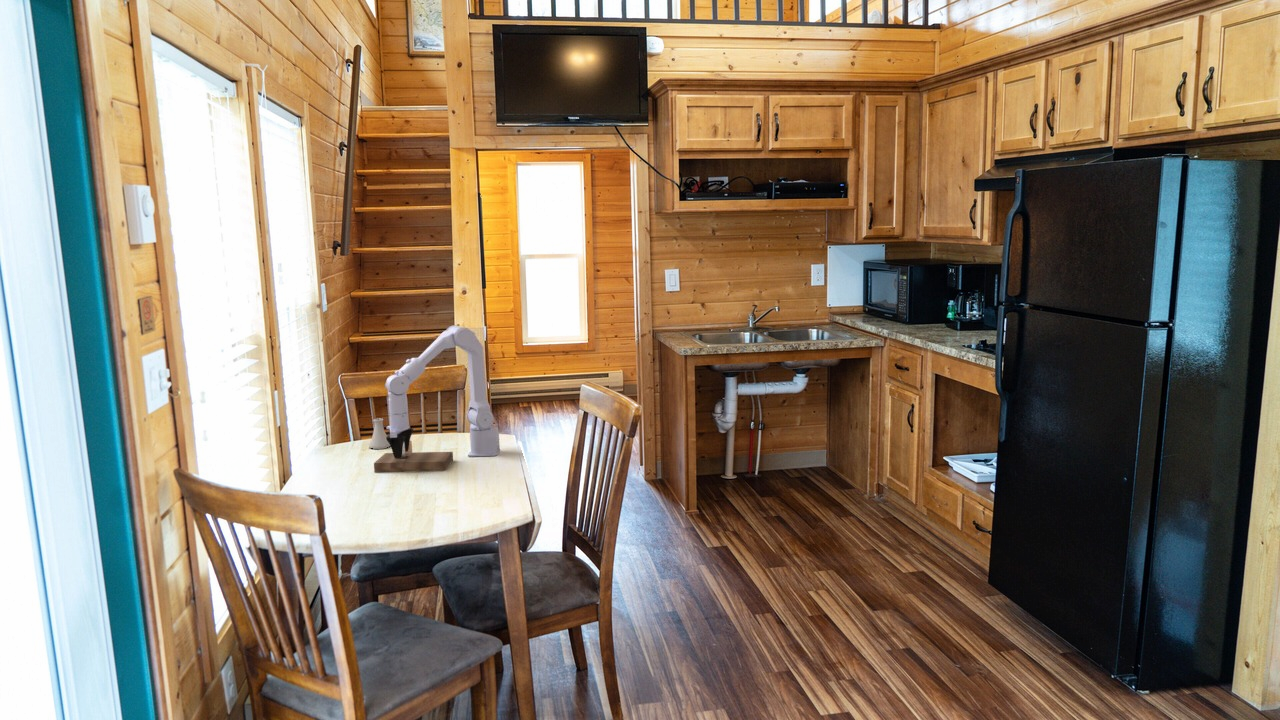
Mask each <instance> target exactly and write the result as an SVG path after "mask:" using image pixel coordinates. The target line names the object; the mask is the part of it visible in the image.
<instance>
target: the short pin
mask: <svg viewBox="0 0 1280 720" xmlns="http://www.w3.org/2000/svg"><path fill="white" fill-rule="evenodd" d="M412 445H413V444H412V440H410V443H409V449H408V452H405V453H413V446H412Z"/></svg>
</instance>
